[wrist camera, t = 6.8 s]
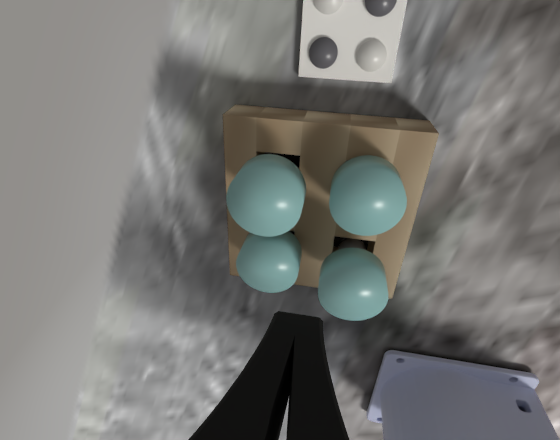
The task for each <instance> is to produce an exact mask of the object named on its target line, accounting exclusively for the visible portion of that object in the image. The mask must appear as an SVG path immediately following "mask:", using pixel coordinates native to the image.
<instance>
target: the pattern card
mask: <svg viewBox="0 0 560 440" xmlns="http://www.w3.org/2000/svg"><path fill="white" fill-rule="evenodd" d="M406 5H407V0H303V13H302V28H301V44H300V60H299V76H298V77H311V78H326V79H340V80H354V81H368V82H383V83H391V81H392V76H393V71H394V66H395V61H396V56H397V51H398V46H399V40H400V35H401V30H402V25H403V20H404V15H405V10H406Z"/></svg>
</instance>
